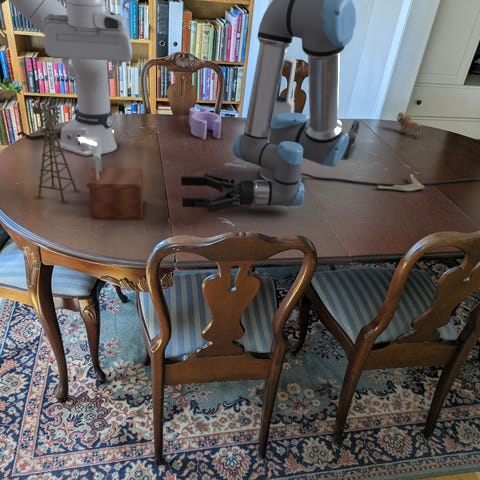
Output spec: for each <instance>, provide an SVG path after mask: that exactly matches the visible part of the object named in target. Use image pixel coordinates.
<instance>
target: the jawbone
mask: <svg viewBox="0 0 480 480" xmlns="http://www.w3.org/2000/svg"><path fill="white" fill-rule="evenodd" d="M409 179H410V183H408V184H409V185H394V186H384V185H376V188H377V189H380V190H391V191H400V192H409V193H410V192H415V191H419V190H425V189H426V187H425V185H422V184H421V183H422V182H419V181H418V179H417V177H415V176H414V174H413V173H410V174H409ZM410 184H411V185H410Z"/></svg>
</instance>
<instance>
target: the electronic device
mask: <svg viewBox="0 0 480 480" xmlns="http://www.w3.org/2000/svg"><path fill="white" fill-rule="evenodd" d="M297 62H298V59H296V58H295V57H292V56H285V59H284V63H283V65H284V64H285V63H287V64H289V71H288V78H287V85H286V91H285V92H286V93H285V97H283V96H281V95H280V94H281V93H280V92H281V85H282V77H283V71H284V67H283V68H282V73H281V78H280V82H279V87H278V92H277V97H276V102H275V106H274V111H273V116H272V119H273V117H274V116H276V115H277V114H280V113H289V112H293V113H295V101H294V99H292V95H293V88H294V81H295V76H296V75H295V74H296V69H297ZM271 124H272V121H271ZM270 127H271V126H270Z"/></svg>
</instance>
